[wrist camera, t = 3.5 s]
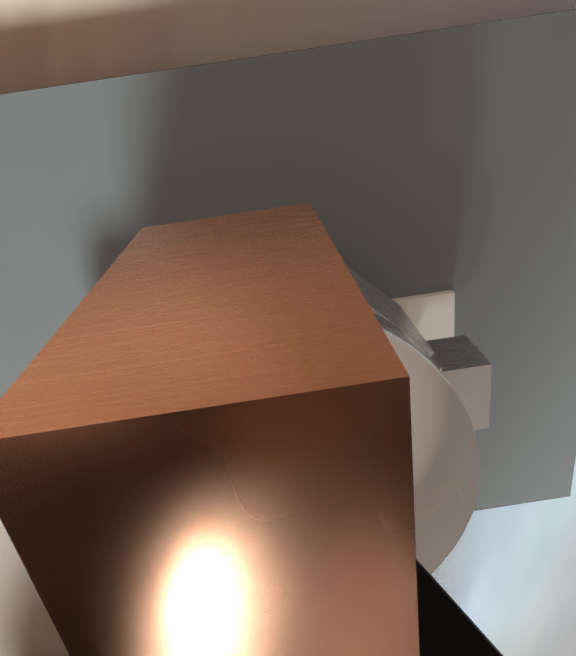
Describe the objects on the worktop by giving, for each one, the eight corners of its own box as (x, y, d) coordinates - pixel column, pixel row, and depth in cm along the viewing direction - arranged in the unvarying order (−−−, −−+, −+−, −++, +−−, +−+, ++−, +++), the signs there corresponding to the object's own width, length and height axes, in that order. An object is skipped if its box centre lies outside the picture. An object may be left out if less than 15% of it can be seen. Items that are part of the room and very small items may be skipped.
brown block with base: (458, 139, 10) (1112, 269, 2) (455, 507, 14) (692, 979, 7) (9, 207, 10) (-762, 552, 2) (137, 556, 14) (6, 1090, 7)
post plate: (545, 465, 18) (622, 562, 14) (47, 542, 18) (-6, 658, 14) (595, 10, 12) (749, -28, 8) (-152, 121, 12) (-333, 133, 8)
